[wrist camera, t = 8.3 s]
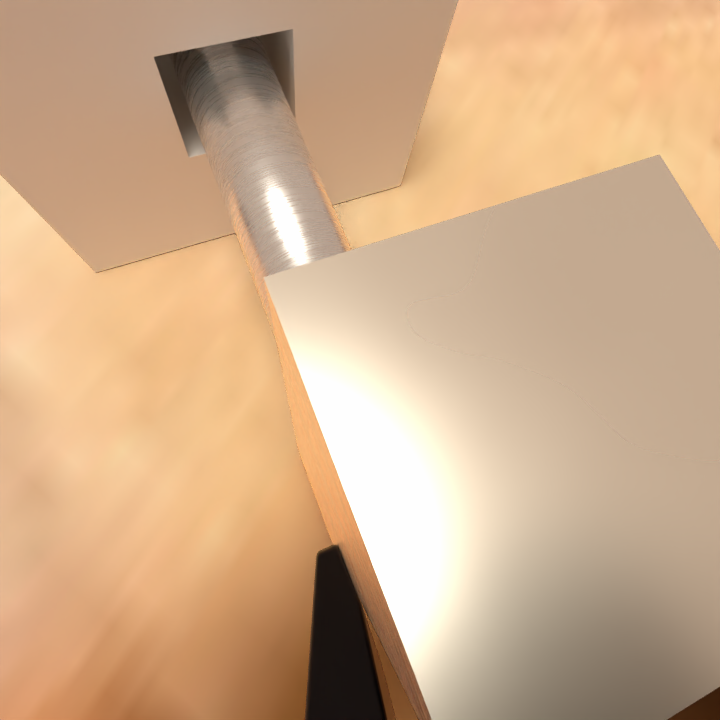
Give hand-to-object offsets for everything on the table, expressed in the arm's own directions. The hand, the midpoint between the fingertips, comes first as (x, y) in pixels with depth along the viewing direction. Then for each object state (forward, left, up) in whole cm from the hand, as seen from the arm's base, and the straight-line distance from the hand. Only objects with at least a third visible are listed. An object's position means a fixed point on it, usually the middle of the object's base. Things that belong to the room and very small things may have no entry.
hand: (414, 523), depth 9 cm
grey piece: (+6, -4, -7) cm, 10 cm away
